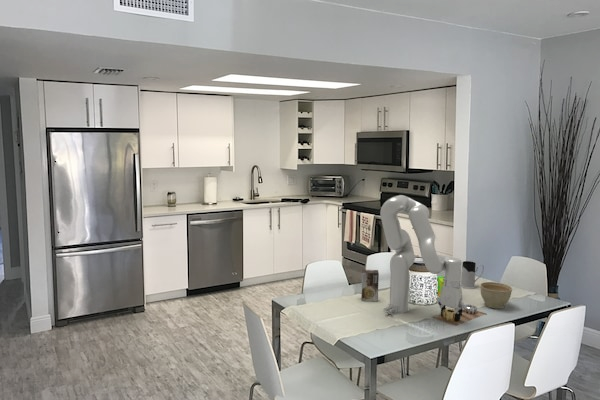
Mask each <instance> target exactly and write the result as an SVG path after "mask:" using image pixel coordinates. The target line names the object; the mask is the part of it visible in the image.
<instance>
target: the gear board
mask: <svg viewBox="0 0 600 400" xmlns="http://www.w3.org/2000/svg"><path fill="white" fill-rule="evenodd" d="M460 308H462V306H461V307H460ZM453 309H454V308H453ZM454 310H455V309H454ZM458 311H459V310H458ZM486 315H487V313H486V312H483V311H480V310H477V313H476V314H475V313H474V314H471V313H470V314H468V313H465V312H462V313H461V314H460V320H459V321H457V322H456V321H455V322H454V321H453V322H451V321H447V320H444V319H443V318H442V317H441V313H439V314H437V315H436V314H435V315H433V316H432V317H431V318H433V319H436V320H438V321H440V322H444V323H448V324H449V325H452V326H455V327H457V326H460V325H462V324H465V323H467V322H469V321H471V320H475V319H477V318H480V317H482V316H486Z"/></svg>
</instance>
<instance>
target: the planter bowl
mask: <svg viewBox="0 0 600 400" xmlns="http://www.w3.org/2000/svg"><path fill="white" fill-rule="evenodd" d="M479 286H480V295H481V299H482V300H483V301H484V304H485V306H486V307H488V308H492V309H504V308H505V305H507V303H508V302H509V300H510V298H511V295H512V291H513V287H512V286H510V285H508V284H505V283H502V282H496V281H495V282H494V281H484V282H481V283H480V285H479Z"/></svg>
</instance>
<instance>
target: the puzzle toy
mask: <svg viewBox="0 0 600 400" xmlns="http://www.w3.org/2000/svg"><path fill="white" fill-rule="evenodd" d="M436 279H437V280H436V282H437V281H438V295H437V296H438V297H440V294H441V289H442V286H443V284H444V281H443V279H445V276H437V278H436Z"/></svg>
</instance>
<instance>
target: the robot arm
mask: <svg viewBox="0 0 600 400" xmlns="http://www.w3.org/2000/svg"><path fill="white" fill-rule="evenodd" d="M379 213H380V214H379V215H380V220H381V223H382V227H383V232H384V236H385V239H386V244H387V246H388V248H389V249H390V250H393V251H395V253H394V254H393V255H392V256H391V258H390V262H389V269H390V280H389V281H390V282H389V283H390V284H389V285H390V286H389V303H388V304H387V305H388V306H385V307H384V308H383V312H384V313H388V314H389V315H390V316H396V315H400V314H404V313H408V311H410V310H411V309H410V308H409V297H410V267H411V266H412V265H413V264H414V263H415V260H416V257H415V256H416V255H415V251H414V247H413V243H412V240H411V237H410V236H411V235H410V234H409V233H408V231H406V229H403V228H402V227H401V223H400V220H399V218H398V214H400V213H403V214H406V215H407V216H408V218H409V221H410V224H411V226H412V228H413V231H414V234H415V237H416V238H417V242H418V247H419V250H420V251H419V252H420V257H421V258H422V261H423V263H424V266H425V268H426V269H427V271H428V272H429V273H430V274H432V275H438V274H440V273H441V272H442V271H444V277H445V279H443V281H444V284H443V286H442V289H441V294H440V297H439V296H438V297H437V298H436V301H437V303H438V305H439V308H440V314H441V317H443V309H447V307H448V308H450V309H455V310H456V314H455V321H456V322H457V321H459V320H460V314H461V313H462V312H463V311H464V310H465V309H466V308H467V307H466V306H465V303H464V301H463V291H462V290H463V288H462V287H460V285H461V274H462V263H463V261H462V260H461V259H460V258H457V257H448V256H445V255H441V254H438V253H437V251H436V246H435V238H436V236H435V232H434V229H433V227H432V224H431V222H430V220H429V217H430V211H429V208H428V207H427V206H426V205H424V204H423V203H421V202H419V201H416V200H414V199H413V198H411V197H409V196H407V195H403V194H399V195H394V196H392V197H390V198H388V199H387V200H385V202H384V203H383V204H382V206H381V208H380V212H379ZM461 306H462V308H460V307H461ZM458 310H459V311H458Z"/></svg>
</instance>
